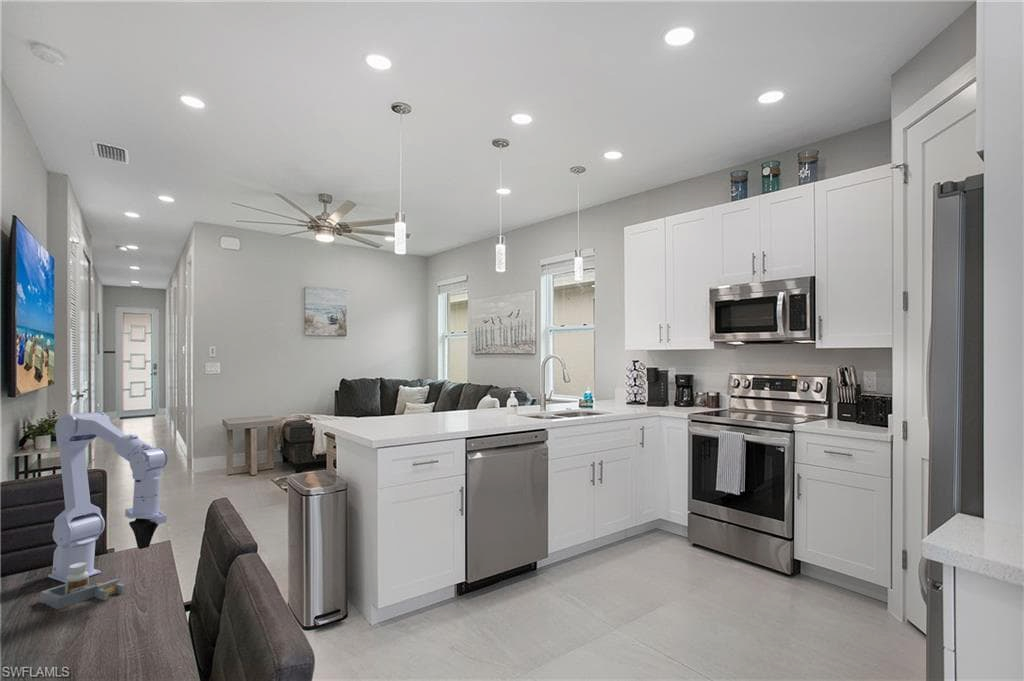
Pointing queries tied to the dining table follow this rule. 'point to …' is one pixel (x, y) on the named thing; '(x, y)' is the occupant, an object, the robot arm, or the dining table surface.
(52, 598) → the dock bay
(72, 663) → the dining table surface
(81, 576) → the pill bottle
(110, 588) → the lock bar
